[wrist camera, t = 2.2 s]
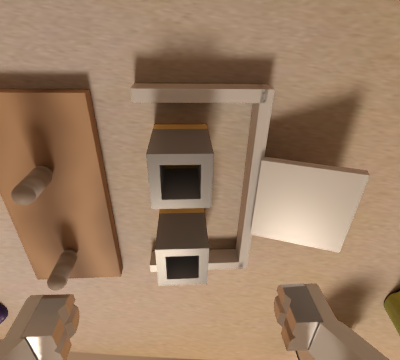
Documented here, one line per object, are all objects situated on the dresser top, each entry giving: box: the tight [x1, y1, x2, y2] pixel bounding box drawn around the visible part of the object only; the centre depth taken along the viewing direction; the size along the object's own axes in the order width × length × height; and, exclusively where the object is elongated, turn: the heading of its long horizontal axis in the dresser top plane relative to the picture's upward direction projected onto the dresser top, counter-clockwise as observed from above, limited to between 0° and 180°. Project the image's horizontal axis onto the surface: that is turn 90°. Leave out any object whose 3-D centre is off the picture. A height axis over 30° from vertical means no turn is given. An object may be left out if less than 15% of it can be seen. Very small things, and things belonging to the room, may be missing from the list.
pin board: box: [0, 89, 123, 290], centre depth 23 cm, size 9×20×6 cm, turn 179°
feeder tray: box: [130, 83, 370, 272], centre depth 24 cm, size 18×19×5 cm
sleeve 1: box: [146, 124, 214, 209], centre depth 21 cm, size 4×4×6 cm
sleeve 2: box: [155, 208, 209, 286], centre depth 25 cm, size 4×4×6 cm
